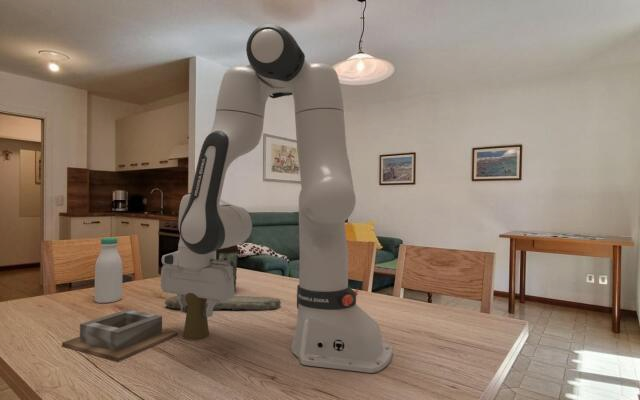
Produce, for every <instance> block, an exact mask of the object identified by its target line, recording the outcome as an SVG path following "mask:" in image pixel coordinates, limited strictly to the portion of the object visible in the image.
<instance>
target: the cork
mask: <svg viewBox="0 0 640 400" xmlns="http://www.w3.org/2000/svg"><path fill="white" fill-rule="evenodd" d="M185 300H186V303H187V304H188V307H187V313H185V322H184V327H183V328H184V329H183V335H182V338H183V339H184V340H188V341H195V340H196V341H197V340H202V339H205V338H207V337H209V336H210V329H209V322H208V317H204V316H203V309H206V304H205V303H206V302H207V299H205V298H199V297H197V296H196V295H195V294H193V293H188V294H186V297H185Z"/></svg>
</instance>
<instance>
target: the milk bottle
mask: <svg viewBox="0 0 640 400" xmlns="http://www.w3.org/2000/svg"><path fill="white" fill-rule="evenodd" d="M117 245H118V238H117V237H103V238H101V239H100V246H101V250H100V253H99V255H98V256H97V259H96V261H95V265H94V266H95V267H94V302H95V303H98V304H107V303H115V302H118V301H120V300H121V299H122V298H123V260H122V257H121V256H120V253H119V252H118V249H117Z"/></svg>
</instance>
